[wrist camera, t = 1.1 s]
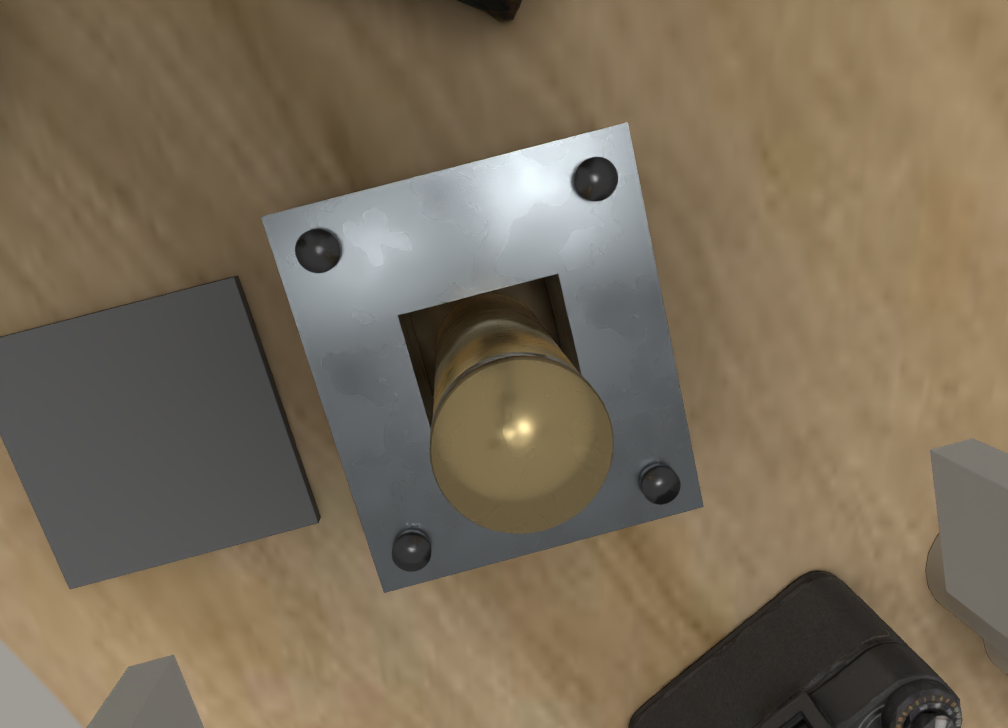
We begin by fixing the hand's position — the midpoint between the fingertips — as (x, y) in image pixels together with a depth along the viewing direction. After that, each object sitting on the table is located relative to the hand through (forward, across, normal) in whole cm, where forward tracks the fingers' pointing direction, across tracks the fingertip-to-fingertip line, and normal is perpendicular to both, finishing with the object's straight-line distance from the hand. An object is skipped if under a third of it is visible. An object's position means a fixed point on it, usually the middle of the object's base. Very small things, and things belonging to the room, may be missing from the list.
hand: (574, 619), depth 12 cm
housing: (+22, 0, 0) cm, 22 cm away
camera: (+22, +10, -22) cm, 33 cm away
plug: (+22, 0, 0) cm, 22 cm away
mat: (+22, -16, 0) cm, 27 cm away
